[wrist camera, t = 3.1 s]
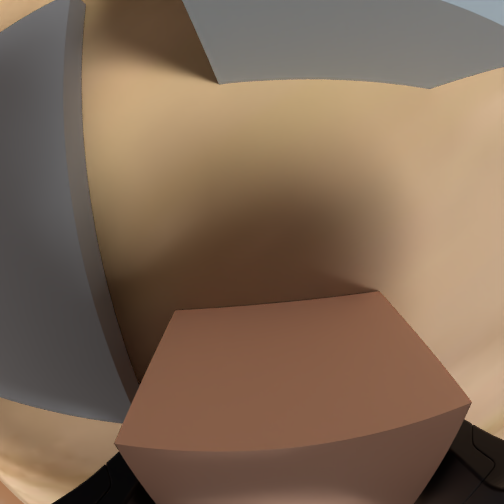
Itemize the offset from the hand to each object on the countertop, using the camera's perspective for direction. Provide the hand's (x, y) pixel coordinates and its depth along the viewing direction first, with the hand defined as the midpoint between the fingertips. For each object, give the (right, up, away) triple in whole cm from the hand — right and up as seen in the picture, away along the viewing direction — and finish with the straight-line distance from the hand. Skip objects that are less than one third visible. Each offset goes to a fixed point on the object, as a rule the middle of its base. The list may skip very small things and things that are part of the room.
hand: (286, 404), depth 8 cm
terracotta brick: (0, 0, +1) cm, 1 cm away
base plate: (-13, +5, 0) cm, 13 cm away
